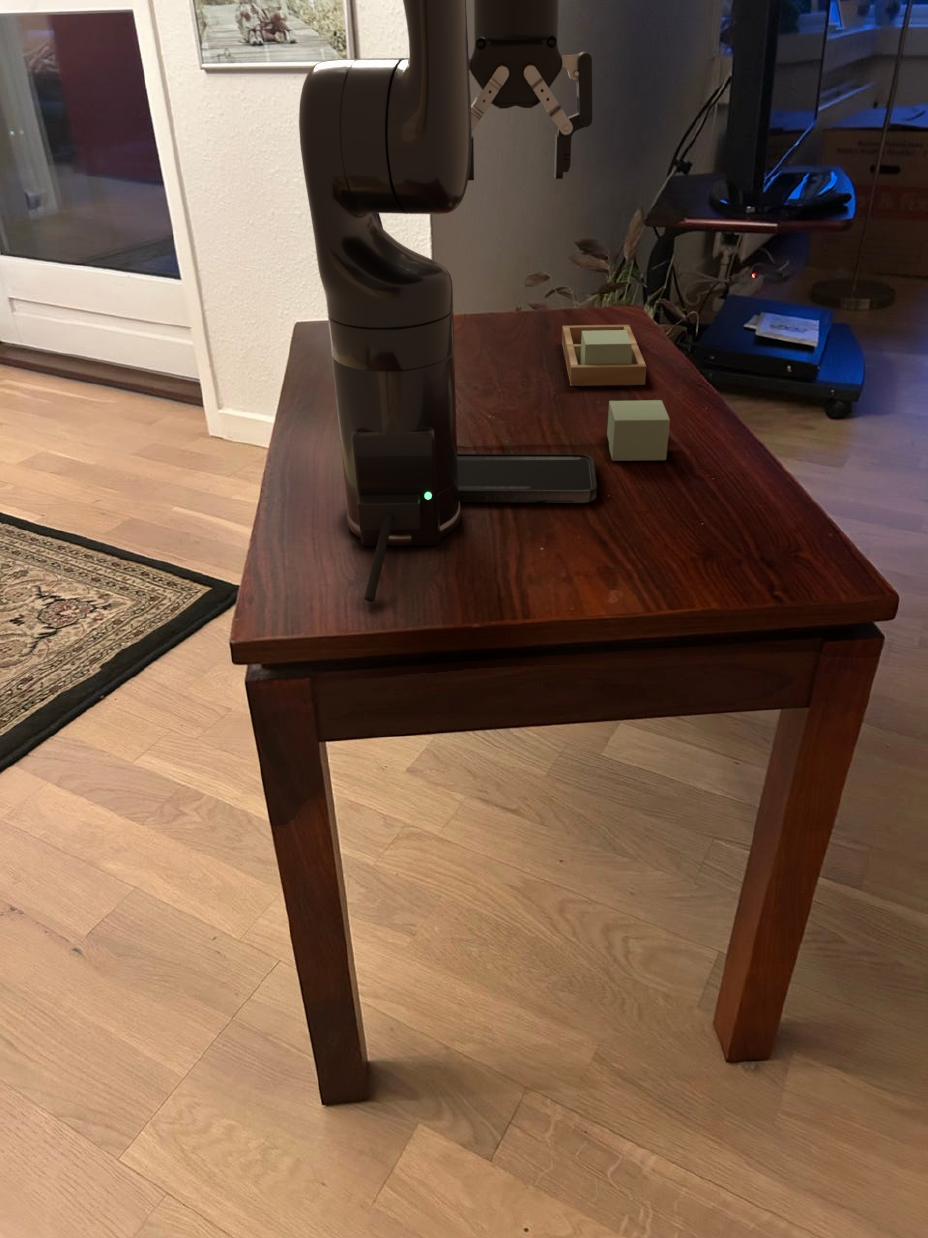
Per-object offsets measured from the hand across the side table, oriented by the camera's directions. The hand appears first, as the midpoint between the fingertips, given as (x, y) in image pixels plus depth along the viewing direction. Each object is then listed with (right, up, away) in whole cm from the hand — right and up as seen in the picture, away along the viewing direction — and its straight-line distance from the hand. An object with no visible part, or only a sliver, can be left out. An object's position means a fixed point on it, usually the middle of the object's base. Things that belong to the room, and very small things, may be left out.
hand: (514, 178), depth 92 cm
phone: (-1, -31, -7) cm, 32 cm away
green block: (+11, -27, -2) cm, 29 cm away
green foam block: (+11, -15, +15) cm, 24 cm away
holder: (+11, -13, +18) cm, 25 cm away
